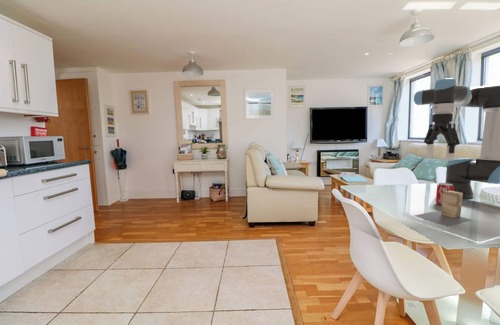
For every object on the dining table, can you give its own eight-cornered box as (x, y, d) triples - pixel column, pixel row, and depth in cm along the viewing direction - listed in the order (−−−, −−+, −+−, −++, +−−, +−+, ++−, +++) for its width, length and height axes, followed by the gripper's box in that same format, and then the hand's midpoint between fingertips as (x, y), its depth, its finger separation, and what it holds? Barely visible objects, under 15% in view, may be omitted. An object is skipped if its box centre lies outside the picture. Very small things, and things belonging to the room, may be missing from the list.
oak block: (448, 213, 114) (450, 190, 112) (460, 216, 109) (462, 192, 108) (441, 215, 112) (443, 191, 111) (453, 218, 107) (455, 194, 106)
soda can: (455, 208, 123) (457, 185, 122) (439, 207, 125) (441, 185, 123) (447, 204, 130) (449, 182, 129) (432, 203, 132) (434, 182, 130)
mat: (438, 211, 118) (438, 210, 118) (472, 221, 105) (473, 220, 105) (413, 216, 112) (413, 215, 112) (447, 227, 99) (447, 226, 99)
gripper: (417, 115, 123) (414, 156, 126) (454, 111, 99) (449, 162, 101) (433, 115, 123) (430, 156, 125) (473, 111, 98) (468, 162, 101)
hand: (438, 158), depth 113 cm, fingers open, 13 cm apart
